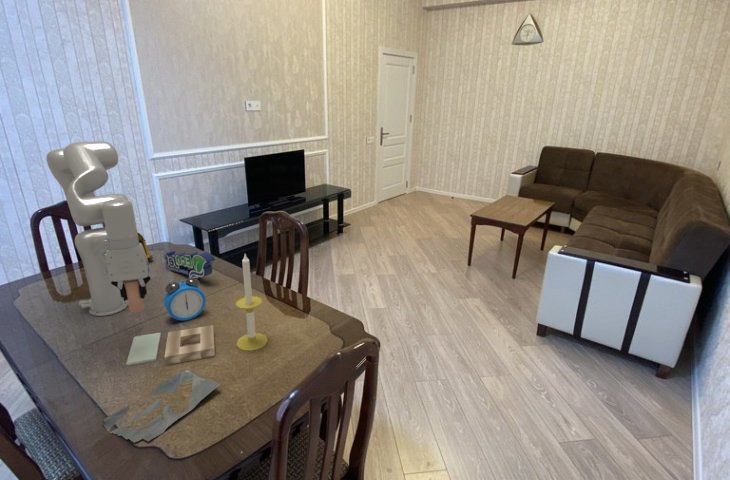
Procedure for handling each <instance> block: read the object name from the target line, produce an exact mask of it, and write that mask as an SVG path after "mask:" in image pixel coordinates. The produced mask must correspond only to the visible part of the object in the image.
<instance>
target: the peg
mask: <svg viewBox="0 0 730 480" xmlns="http://www.w3.org/2000/svg"><path fill="white" fill-rule="evenodd" d="M124 285H125V290H126V295H127V301H128V308H129V309H128V310H129V313H132V314H137V313H140V312H143V311H144V310H145V304H144V299H142V298H141V294H140V289H139V287H140V282H139V280H138V279H136V280H127V281H124Z"/></svg>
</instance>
